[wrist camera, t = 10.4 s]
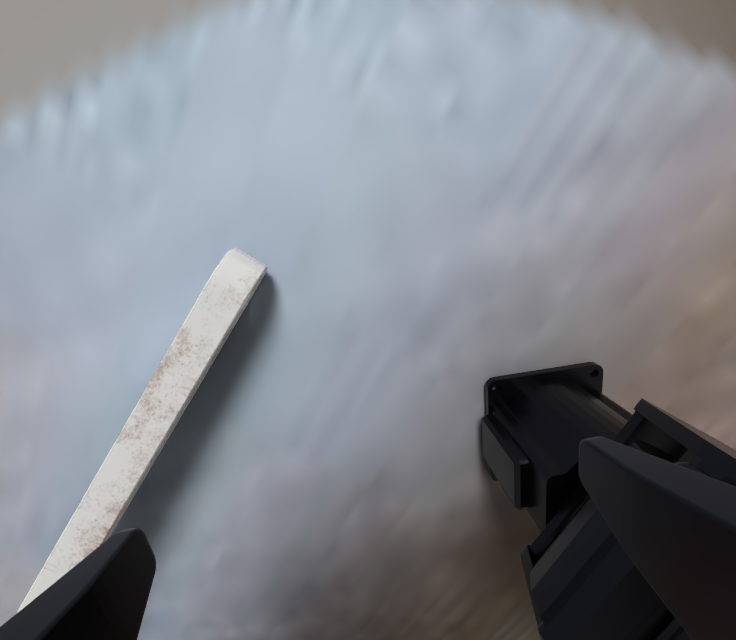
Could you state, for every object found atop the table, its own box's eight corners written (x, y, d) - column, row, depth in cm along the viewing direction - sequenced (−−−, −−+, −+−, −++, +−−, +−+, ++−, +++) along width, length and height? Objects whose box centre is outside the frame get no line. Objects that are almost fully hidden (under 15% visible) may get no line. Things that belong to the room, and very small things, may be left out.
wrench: (276, 263, 21) (29, 681, 23) (246, 245, 21) (-2, 672, 23) (258, 273, 13) (-111, 899, 16) (209, 245, 13) (-162, 892, 15)
